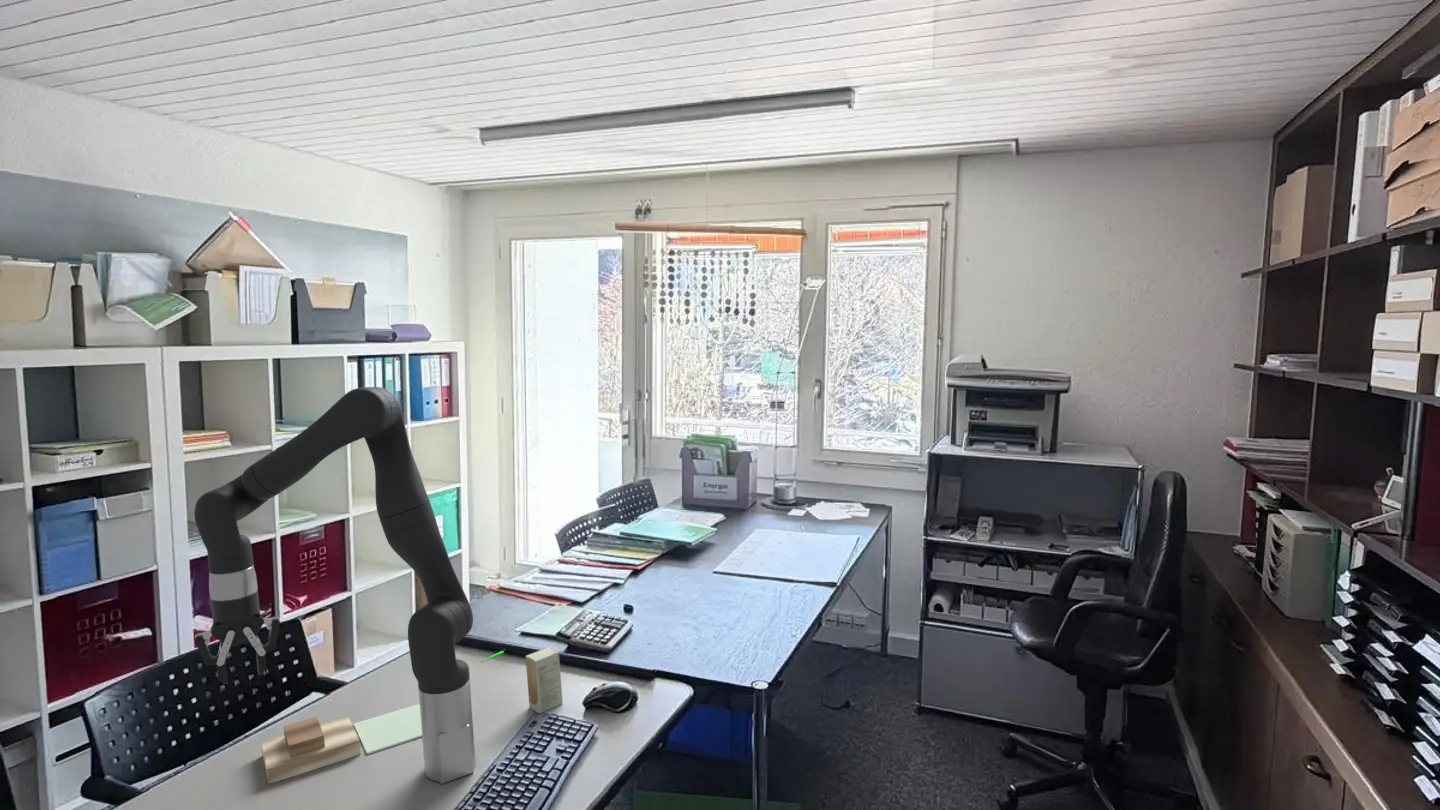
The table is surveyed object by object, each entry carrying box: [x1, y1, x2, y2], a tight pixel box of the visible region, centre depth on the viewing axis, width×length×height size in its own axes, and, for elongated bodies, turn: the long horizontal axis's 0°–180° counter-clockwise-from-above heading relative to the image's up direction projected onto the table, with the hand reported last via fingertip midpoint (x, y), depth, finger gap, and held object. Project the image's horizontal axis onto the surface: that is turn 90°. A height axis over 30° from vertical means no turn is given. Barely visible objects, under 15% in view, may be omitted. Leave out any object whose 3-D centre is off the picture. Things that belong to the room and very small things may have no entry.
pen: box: [481, 650, 505, 663], centre depth 199 cm, size 1×14×1 cm, turn 144°
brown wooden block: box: [283, 716, 325, 758], centre depth 153 cm, size 9×6×2 cm, turn 36°
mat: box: [353, 703, 422, 755], centre depth 165 cm, size 14×20×1 cm
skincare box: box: [525, 646, 563, 714], centre depth 170 cm, size 6×4×12 cm
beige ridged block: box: [260, 715, 362, 785], centre depth 154 cm, size 12×16×3 cm
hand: (243, 677), depth 146 cm, fingers open, 5 cm apart
